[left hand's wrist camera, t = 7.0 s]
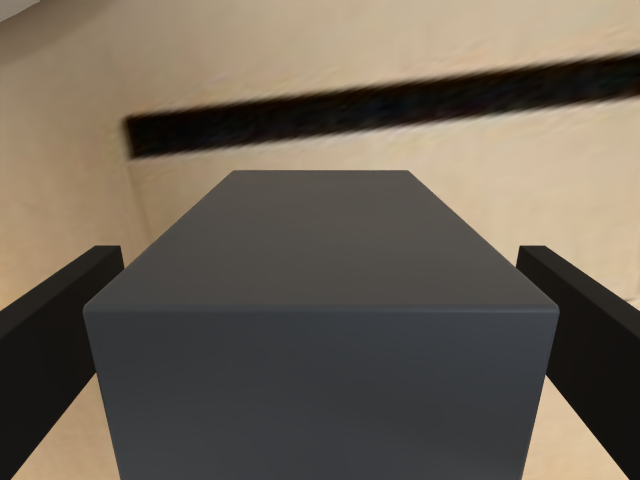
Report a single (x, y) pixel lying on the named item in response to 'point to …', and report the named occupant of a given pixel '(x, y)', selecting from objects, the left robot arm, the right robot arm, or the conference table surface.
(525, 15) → the conference table surface
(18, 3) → the projector
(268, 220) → the bar
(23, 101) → the conference table surface
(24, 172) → the conference table surface
